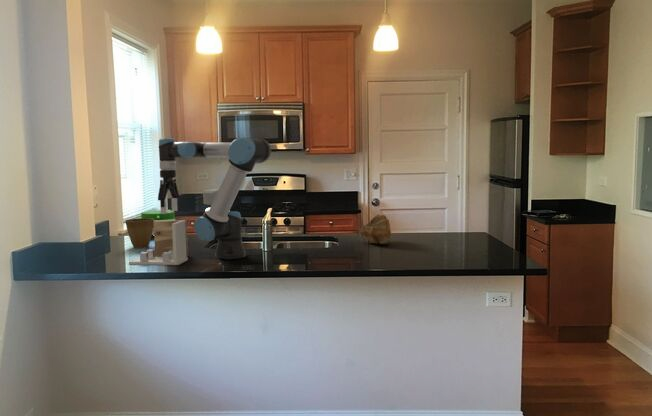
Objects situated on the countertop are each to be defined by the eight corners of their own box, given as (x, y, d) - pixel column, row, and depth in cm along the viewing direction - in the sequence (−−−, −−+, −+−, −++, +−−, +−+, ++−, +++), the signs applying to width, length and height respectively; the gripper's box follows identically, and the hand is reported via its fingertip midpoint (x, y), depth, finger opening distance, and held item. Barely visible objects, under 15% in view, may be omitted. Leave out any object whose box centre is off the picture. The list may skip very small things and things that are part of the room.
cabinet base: (178, 264, 246) (176, 223, 244) (129, 264, 249) (126, 223, 247) (187, 259, 258) (186, 220, 256) (140, 259, 261) (138, 220, 259)
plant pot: (161, 247, 297) (159, 218, 295) (140, 251, 284) (139, 221, 282) (141, 245, 304) (140, 217, 302) (120, 249, 291) (119, 220, 289)
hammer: (216, 242, 310) (215, 190, 307) (204, 242, 311) (202, 190, 308) (225, 238, 325) (223, 189, 322) (213, 238, 326) (211, 189, 323)
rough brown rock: (357, 239, 313) (357, 214, 312) (386, 238, 314) (385, 213, 313) (362, 246, 290) (362, 218, 289) (392, 245, 291) (392, 218, 289)
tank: (133, 245, 306) (132, 217, 304) (134, 236, 339) (133, 211, 337) (177, 242, 314) (176, 214, 312) (174, 234, 347) (173, 209, 345)
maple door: (184, 257, 265) (183, 221, 263) (153, 257, 266) (152, 221, 265) (188, 255, 269) (186, 220, 267) (157, 255, 271) (156, 220, 269)
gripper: (164, 170, 252) (166, 215, 254) (184, 168, 276) (185, 209, 278) (149, 170, 252) (151, 215, 255) (170, 168, 277) (172, 209, 279)
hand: (169, 212), depth 266 cm, fingers open, 13 cm apart
